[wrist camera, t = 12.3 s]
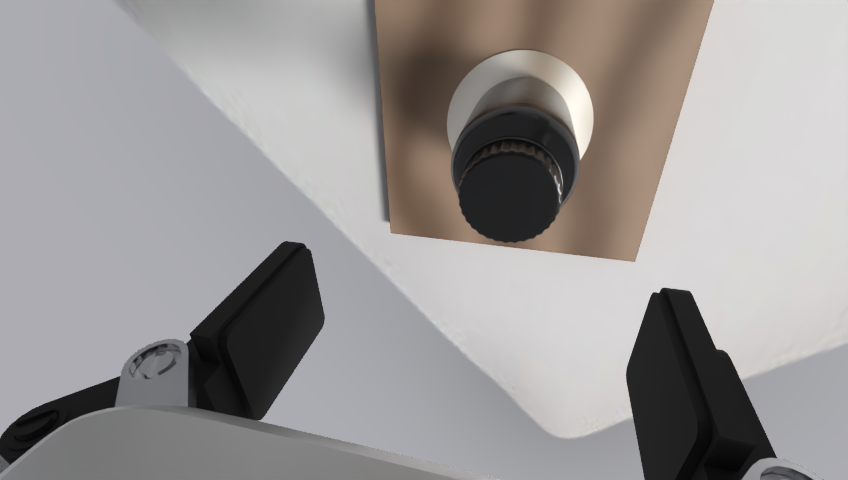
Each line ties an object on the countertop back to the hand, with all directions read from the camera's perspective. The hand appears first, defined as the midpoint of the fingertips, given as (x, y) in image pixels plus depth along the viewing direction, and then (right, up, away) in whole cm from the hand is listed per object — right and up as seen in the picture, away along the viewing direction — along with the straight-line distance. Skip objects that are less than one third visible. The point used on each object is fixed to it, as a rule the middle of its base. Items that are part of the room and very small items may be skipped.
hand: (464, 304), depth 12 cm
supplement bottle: (+6, +10, +18) cm, 21 cm away
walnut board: (+6, +11, +19) cm, 22 cm away
